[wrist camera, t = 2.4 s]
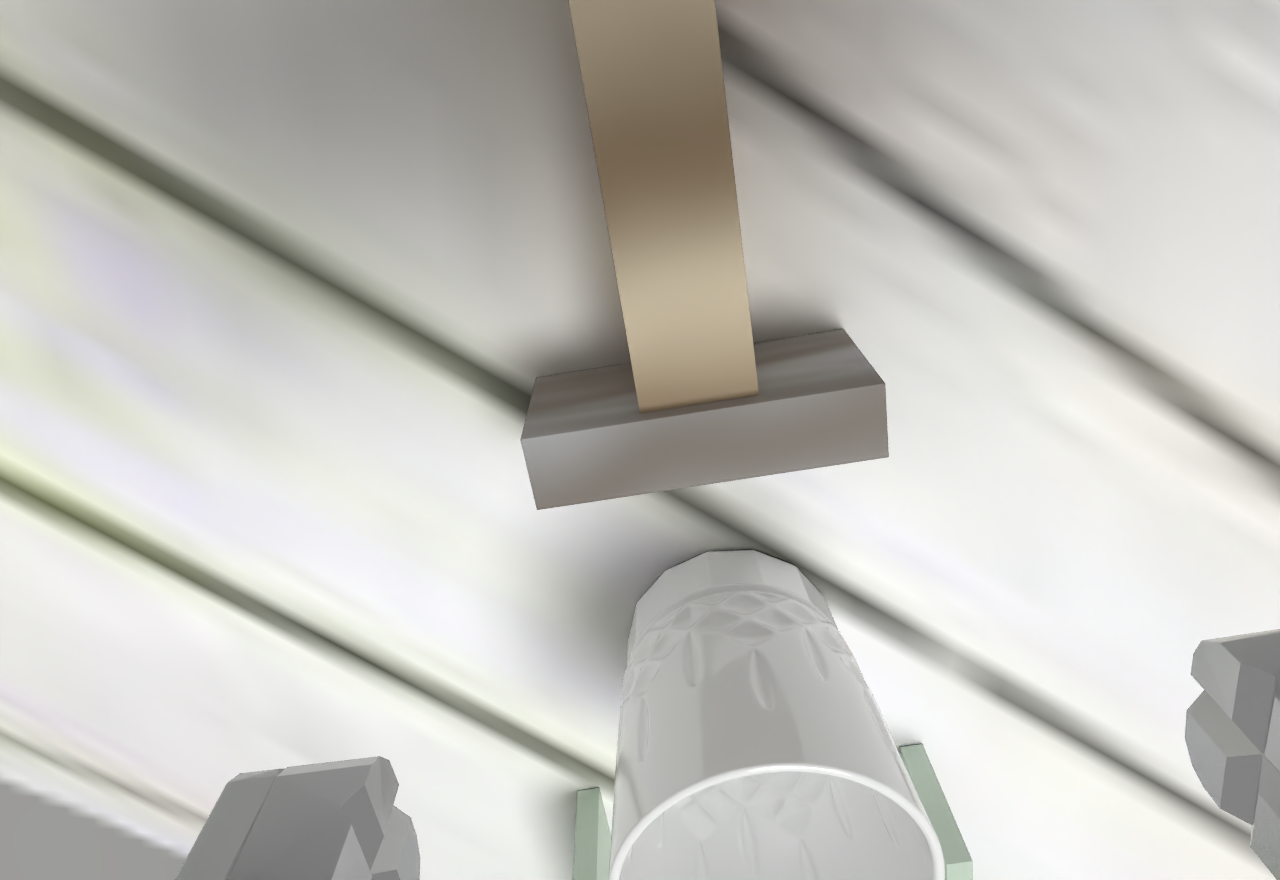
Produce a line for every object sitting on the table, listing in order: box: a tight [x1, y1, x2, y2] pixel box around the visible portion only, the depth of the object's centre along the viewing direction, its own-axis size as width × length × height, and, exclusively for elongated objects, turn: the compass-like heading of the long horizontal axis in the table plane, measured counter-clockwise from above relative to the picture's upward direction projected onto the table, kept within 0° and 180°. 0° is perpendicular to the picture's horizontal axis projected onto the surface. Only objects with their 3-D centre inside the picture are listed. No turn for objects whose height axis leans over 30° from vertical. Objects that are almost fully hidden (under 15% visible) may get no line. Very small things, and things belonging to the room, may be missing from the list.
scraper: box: [521, 0, 889, 510], centre depth 22 cm, size 14×9×4 cm, turn 9°
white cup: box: [608, 550, 945, 880], centre depth 25 cm, size 8×8×10 cm
